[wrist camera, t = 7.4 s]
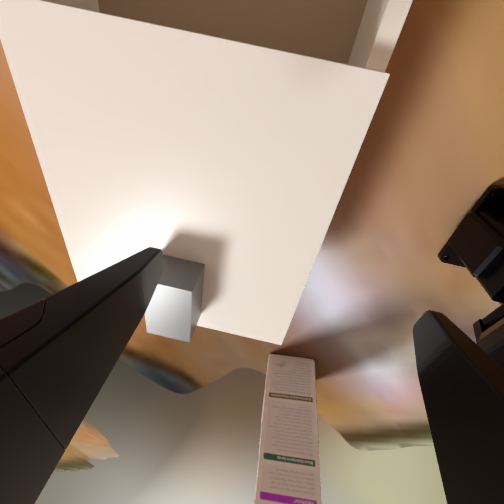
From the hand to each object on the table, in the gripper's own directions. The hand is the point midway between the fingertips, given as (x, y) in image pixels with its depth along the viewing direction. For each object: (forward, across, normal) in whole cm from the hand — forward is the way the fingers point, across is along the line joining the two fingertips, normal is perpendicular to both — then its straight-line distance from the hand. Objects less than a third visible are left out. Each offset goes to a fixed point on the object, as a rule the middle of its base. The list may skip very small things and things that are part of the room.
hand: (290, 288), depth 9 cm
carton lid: (+7, +6, +3) cm, 10 cm away
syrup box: (+13, -6, +26) cm, 30 cm away
